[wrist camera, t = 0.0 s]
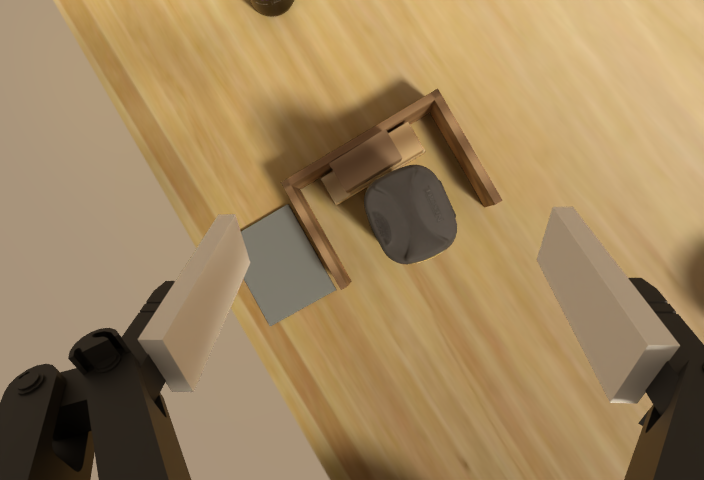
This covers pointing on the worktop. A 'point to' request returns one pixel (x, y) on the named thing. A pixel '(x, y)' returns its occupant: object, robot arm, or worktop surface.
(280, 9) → the supplement bottle
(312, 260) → the mat
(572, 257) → the robot arm
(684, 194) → the worktop surface
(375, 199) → the coffee jar
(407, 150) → the offcut middle
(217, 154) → the worktop surface
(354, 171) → the offcut top
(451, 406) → the worktop surface
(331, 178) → the offcut bottom
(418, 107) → the wooden open enclosure
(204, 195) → the worktop surface
